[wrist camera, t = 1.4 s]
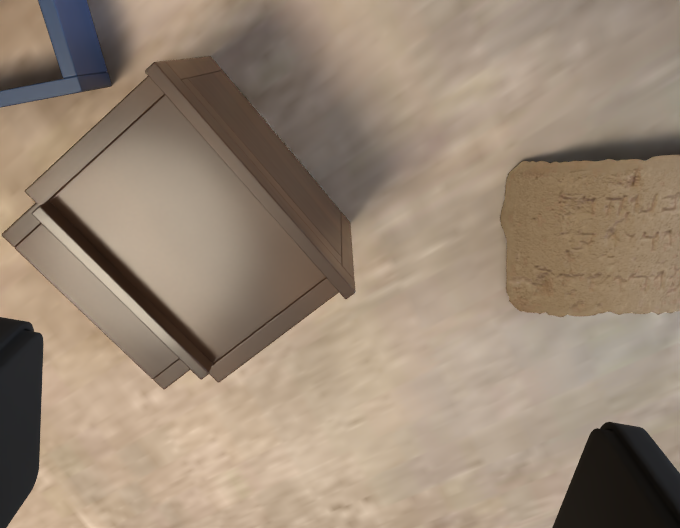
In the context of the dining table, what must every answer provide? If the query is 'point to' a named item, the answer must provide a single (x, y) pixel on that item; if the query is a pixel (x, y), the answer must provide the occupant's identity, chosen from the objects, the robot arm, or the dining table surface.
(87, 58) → the crate
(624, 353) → the dining table surface
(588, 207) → the clay tablet
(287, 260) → the step shelf
